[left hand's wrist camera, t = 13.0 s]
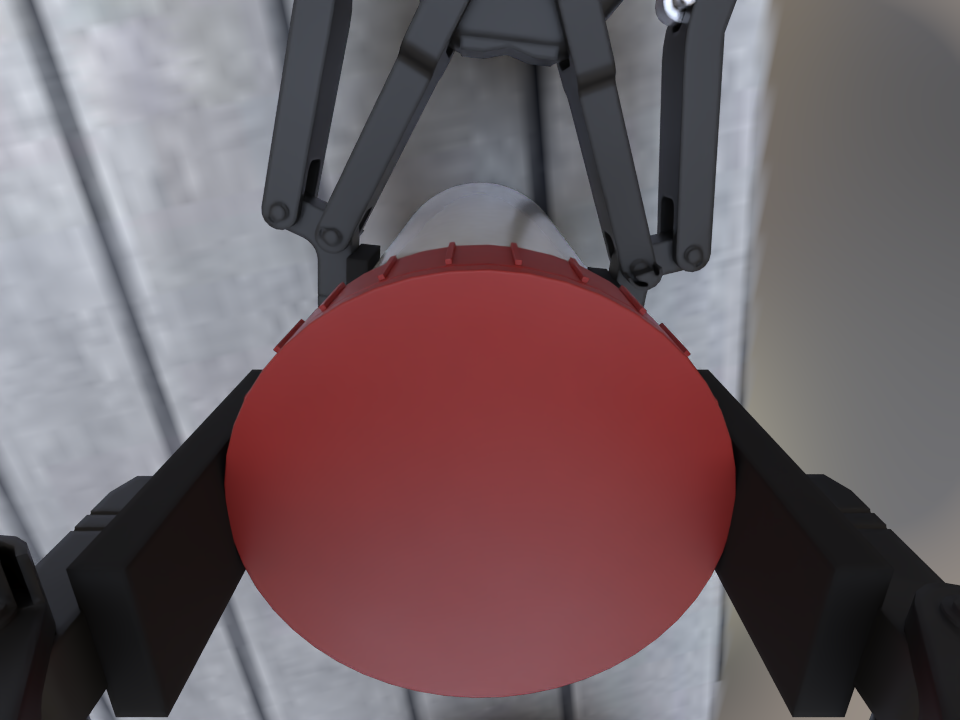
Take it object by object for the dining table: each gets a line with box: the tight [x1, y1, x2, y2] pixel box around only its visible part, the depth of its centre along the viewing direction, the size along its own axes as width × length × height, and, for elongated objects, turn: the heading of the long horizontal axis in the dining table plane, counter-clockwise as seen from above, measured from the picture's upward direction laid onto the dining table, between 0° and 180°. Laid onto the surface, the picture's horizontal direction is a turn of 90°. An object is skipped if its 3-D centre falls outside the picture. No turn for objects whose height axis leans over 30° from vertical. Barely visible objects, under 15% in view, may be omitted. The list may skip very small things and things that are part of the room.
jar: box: [372, 182, 587, 270], centre depth 20 cm, size 8×8×19 cm
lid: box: [224, 242, 736, 698], centre depth 11 cm, size 9×9×2 cm
